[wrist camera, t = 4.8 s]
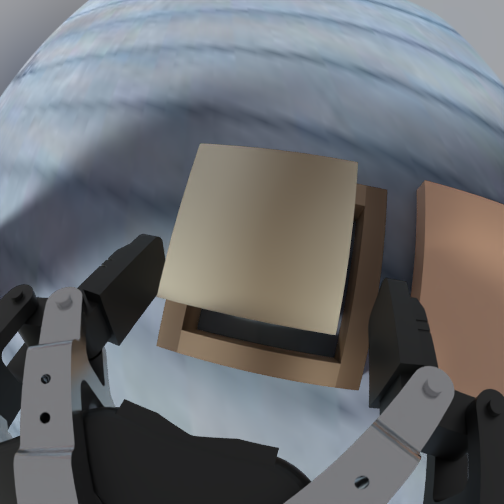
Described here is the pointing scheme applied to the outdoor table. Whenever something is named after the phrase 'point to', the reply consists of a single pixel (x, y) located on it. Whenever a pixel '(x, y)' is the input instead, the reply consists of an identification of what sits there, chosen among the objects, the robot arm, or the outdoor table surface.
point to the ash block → (263, 236)
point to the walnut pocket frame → (293, 362)
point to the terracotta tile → (462, 284)
